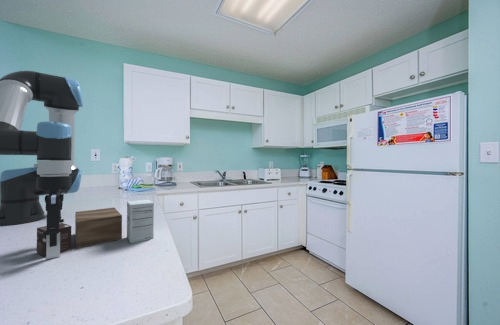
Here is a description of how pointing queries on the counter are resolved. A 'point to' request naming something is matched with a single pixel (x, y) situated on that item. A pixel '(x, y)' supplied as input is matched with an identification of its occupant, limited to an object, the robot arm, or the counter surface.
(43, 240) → the box
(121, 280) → the counter surface
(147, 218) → the supplement box
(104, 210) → the walnut stand
